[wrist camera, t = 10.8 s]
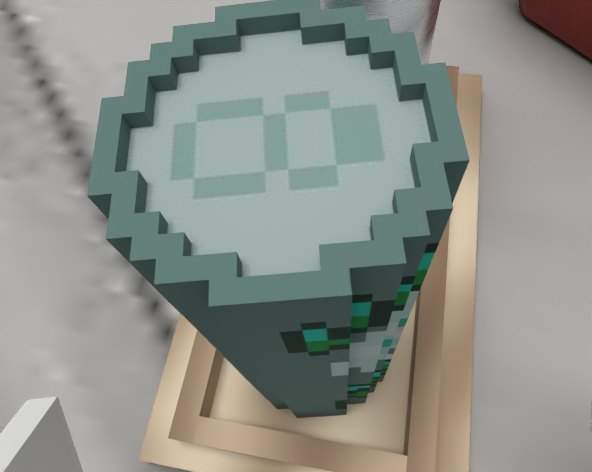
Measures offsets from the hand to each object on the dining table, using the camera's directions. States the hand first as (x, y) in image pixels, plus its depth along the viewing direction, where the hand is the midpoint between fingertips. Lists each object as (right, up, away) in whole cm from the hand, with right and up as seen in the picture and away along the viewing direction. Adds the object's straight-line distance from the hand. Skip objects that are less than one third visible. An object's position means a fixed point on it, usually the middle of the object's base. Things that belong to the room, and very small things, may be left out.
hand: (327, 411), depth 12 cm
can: (0, 0, +10) cm, 10 cm away
